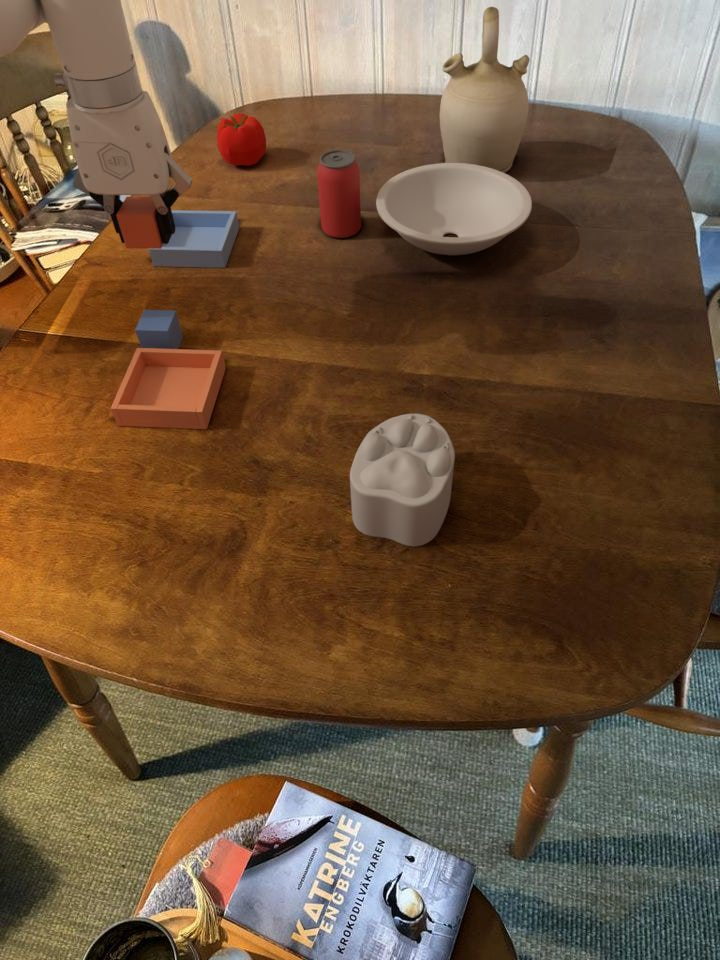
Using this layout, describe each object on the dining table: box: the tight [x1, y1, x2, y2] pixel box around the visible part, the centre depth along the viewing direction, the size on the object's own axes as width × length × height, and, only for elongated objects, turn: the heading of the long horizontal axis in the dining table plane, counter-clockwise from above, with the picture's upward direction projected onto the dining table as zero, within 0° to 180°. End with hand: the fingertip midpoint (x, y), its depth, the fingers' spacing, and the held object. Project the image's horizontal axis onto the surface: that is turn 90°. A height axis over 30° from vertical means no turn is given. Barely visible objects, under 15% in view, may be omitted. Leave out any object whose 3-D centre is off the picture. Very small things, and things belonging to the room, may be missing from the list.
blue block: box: [134, 309, 184, 349], centre depth 99 cm, size 4×4×4 cm
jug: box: [439, 6, 530, 174], centre depth 122 cm, size 15×16×25 cm
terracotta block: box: [116, 195, 163, 250], centre depth 90 cm, size 4×4×4 cm
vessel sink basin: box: [375, 162, 533, 256], centre depth 114 cm, size 24×24×7 cm
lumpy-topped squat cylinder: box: [349, 413, 456, 547], centre depth 79 cm, size 10×13×9 cm
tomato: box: [216, 113, 267, 167], centre depth 132 cm, size 9×9×8 cm
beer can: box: [316, 149, 362, 239], centre depth 114 cm, size 7×7×12 cm
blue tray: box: [148, 209, 240, 269], centre depth 116 cm, size 12×12×3 cm
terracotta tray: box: [110, 347, 227, 430], centre depth 93 cm, size 12×12×3 cm
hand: (147, 236), depth 91 cm, fingers closed on terracotta block, 4 cm apart
